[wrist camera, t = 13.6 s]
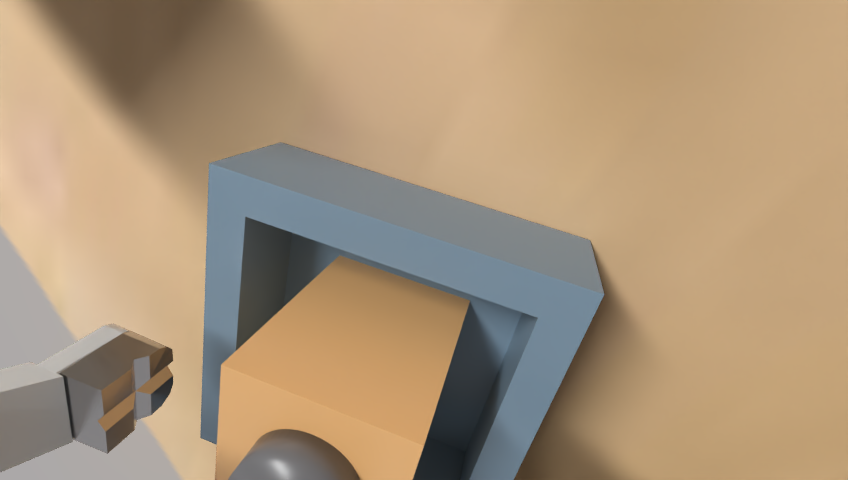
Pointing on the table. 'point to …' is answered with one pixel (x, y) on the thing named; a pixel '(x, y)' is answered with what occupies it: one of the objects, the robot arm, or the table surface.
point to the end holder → (412, 259)
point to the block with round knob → (339, 380)
